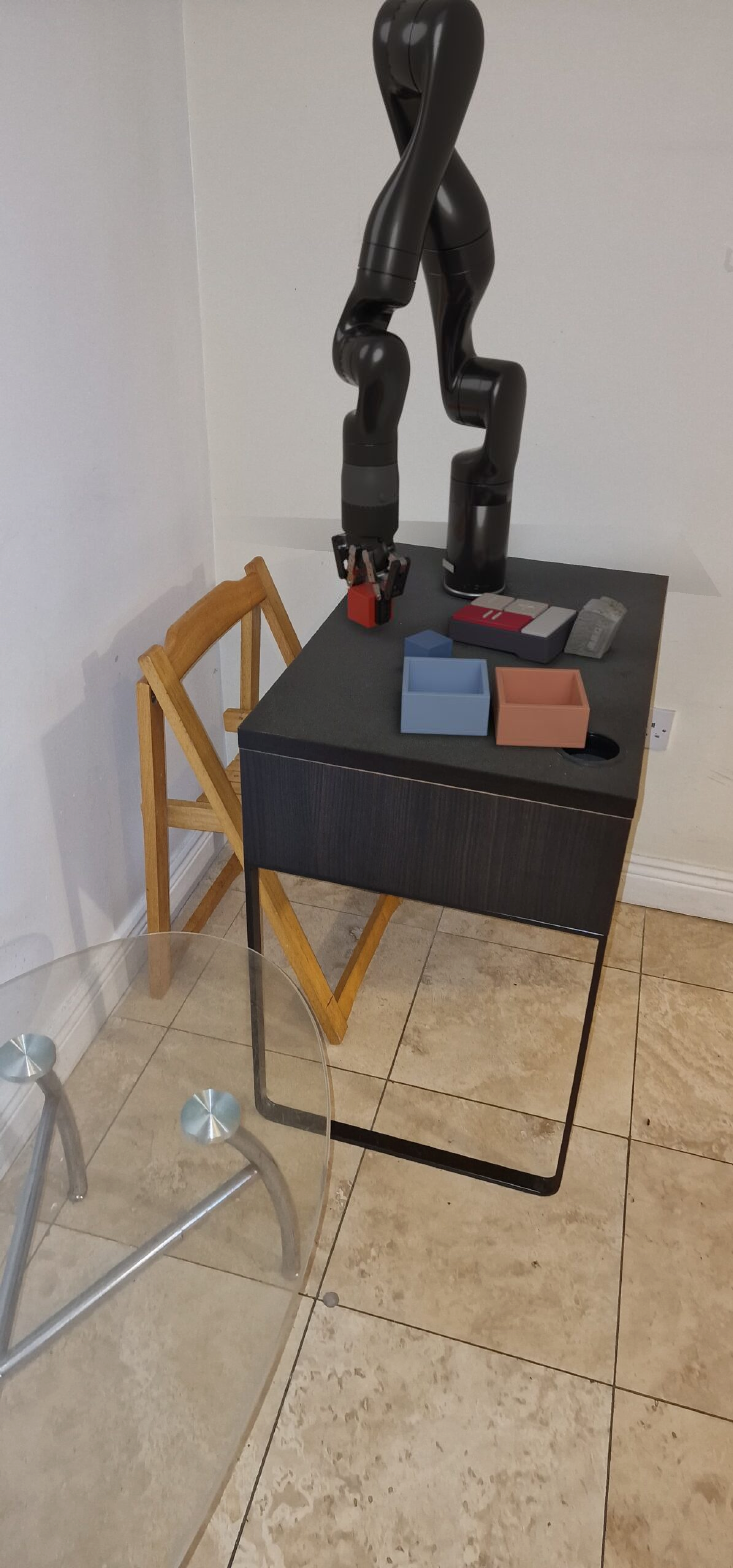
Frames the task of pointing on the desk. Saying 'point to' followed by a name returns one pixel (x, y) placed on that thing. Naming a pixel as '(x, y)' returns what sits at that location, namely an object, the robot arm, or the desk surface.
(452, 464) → the robot arm
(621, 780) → the desk surface
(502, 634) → the grey tray with pads
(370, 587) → the red block
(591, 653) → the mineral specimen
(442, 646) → the blue block
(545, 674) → the red bin
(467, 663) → the blue bin
